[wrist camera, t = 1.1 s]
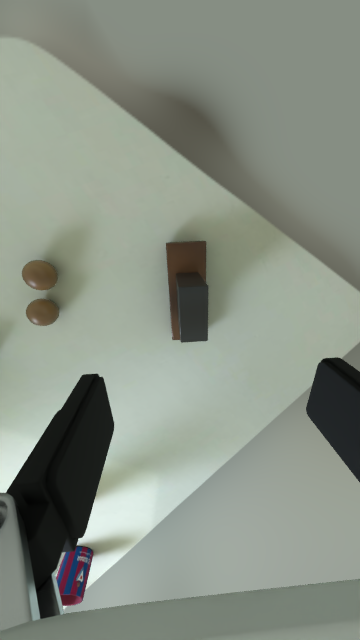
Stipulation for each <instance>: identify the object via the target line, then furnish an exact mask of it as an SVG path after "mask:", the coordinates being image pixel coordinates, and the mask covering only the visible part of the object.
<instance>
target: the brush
mask: <svg viewBox="0 0 360 640" xmlns="http://www.w3.org/2000/svg"><path fill="white" fill-rule="evenodd" d="M166 250H167V265H168V281H169V296H170V311H171V326H172V340H181V342H196V341H207V340H208V285H207V284H206V241H190V242H170V243H166Z"/></svg>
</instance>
